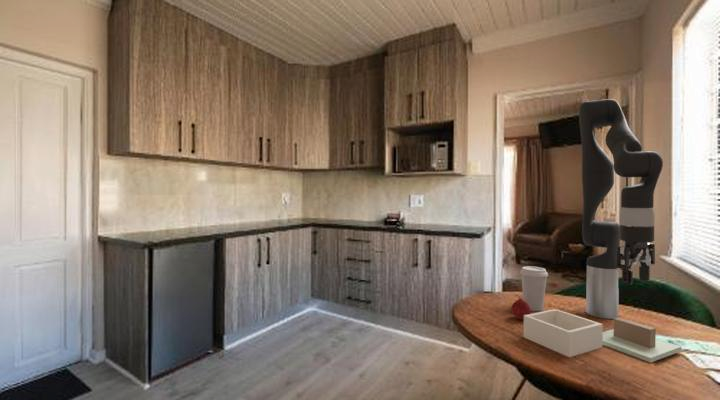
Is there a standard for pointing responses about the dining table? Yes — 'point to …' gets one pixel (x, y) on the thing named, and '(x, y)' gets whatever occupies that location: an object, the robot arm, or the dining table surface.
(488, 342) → the dining table surface
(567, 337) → the box
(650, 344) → the lid
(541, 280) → the coffee cup
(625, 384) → the dining table surface
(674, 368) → the dining table surface
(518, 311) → the onion
